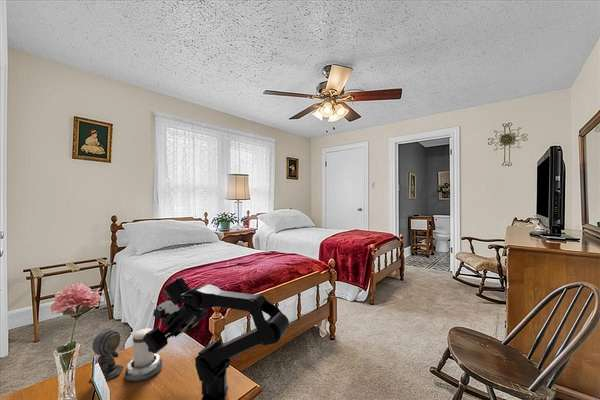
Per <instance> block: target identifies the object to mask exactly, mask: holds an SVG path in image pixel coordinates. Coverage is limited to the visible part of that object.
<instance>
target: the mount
mask: <svg viewBox="0 0 600 400" xmlns="http://www.w3.org/2000/svg"><path fill="white" fill-rule="evenodd" d="M162 369H163V360H162V359H161V358H160V354H158V353H156V354H154V363H152V364H151V365H149V366H146V367H143V368H134V357H133V358H132V359H131V360H130V361H129V362H127V368H126V369H125V372H124V378H125V380H126V381H128V382H129V383H140V382H144V381H147V380H150V379H152V378H154V377H155V376H157V375H158V374H159V372H161V370H162Z"/></svg>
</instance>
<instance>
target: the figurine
mask: <svg viewBox="0 0 600 400" xmlns="http://www.w3.org/2000/svg"><path fill="white" fill-rule="evenodd" d="M120 343H121V334H120V332H119V331H117V330H115V329H105V330H104V331H101V332H100V333H99V334H97V335H96V336H95V338H94V339H93V341H92V346H91V347H92V351H93V353H95V354H96V355H98V358H97V359H98V363H99V365H100V367H101V370H102V372H103V374H104V376H105V379H106V381H107V382H109V381H111V380H114V379H116V378H118V377H120V375H121V373H122V371H123V370H124V366H123V365H121V364H117V363H116V361H115V358H119V353H118V352H117V351H116V350H117V348H118V347H119V345H120ZM88 382H89V383H92V382H91V377H90V379H89V381H88Z"/></svg>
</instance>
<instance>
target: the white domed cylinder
mask: <svg viewBox="0 0 600 400" xmlns="http://www.w3.org/2000/svg"><path fill="white" fill-rule="evenodd" d="M153 329H154V328H153ZM153 329H152V328H150V327H148V328H147V327H146V328H142V329H139V330H137V331H135V332H134V333H133V334H132V343H133V347H132V348H133V358H134V368H143V367H146V366H149V365H151V364H152V363H154V353H152V352H149V351H148V346H147V344H146V343H145V342H144V340H143V337H144V336H145V334H146V333H148V332H149V331H151V330H153Z"/></svg>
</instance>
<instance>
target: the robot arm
mask: <svg viewBox="0 0 600 400" xmlns="http://www.w3.org/2000/svg"><path fill="white" fill-rule="evenodd" d="M163 292H164V293H165V294H166V295H167V297H168V298H169V300H166V301H164V302H162V303H160V304H159V305H157V306H156V307H155V308H154V310H153V314H152V316H153V317H154V318H155V319H157V320H161V319H162V320H163V325H164V326H166V330H164V332H163V331H162V330H161V328H159V327H155V328H153V330H151V331H149V332H148V333H146V334H145V336H144V337H143V340H144V342H145V343H146V344H147V346H148V351H149V352H152V353H154V354H158V352H160V351H162V350H163V349H164V348H165V347H166V346H167V345H168V341H169V340H168V339H170V338H173V337H175V338H176V337H178V336H180V335H181V334H183V333H185V332H187V331H190V330H191V329H192V328H194V327H195V326H196V325H198V324H199V323H200V321H201V320H202V319H203V318H205V317H206V316H208V311H207V309H211V308H222V309H229V310H237V311H244V312H248V313H249V314H250V316H251V317H252V320H253V324H254V327H255V328H253V329H252V330H249V331H248V332H245V333H243V334H240V335H239V336H237V337H234V338H232V339H230V340H228V341H225V342H222V341H221V337H220V338H218V339H217V340H215V341H214V340H213V341H211V342H210V343H209V344H207V345H206V346H205V347H204V348H202V349H201V350H200V351H198V353H197V354H198V355H197V356H196V357H195V358H194V359H195V360H194V361H195V364H194V365H195V369H196V373H197V376H198V379H199V382H201V395H202V397H201V398H202V399H201V400H225V399H226V398H225V397H226V394H227V390H228V386H229V383H228V382H227V381H228V380H227V378H228V377H227V369H228V368H229V367H230V366H231V362H232V361H231V358H232V357H234V356H235V355H238V354H240V353H243V352H245V351H247V350H249V349H251V348H254V347H257V346H258V345H262V346H269V345H274V344H278V343H279V341H280V340H281V338H282V337H283V336H285V334H286V332H287V331H288V330H289V328H290V321H289V319H288V317H287V316H286V315H285V314H284V313H283V312H282V310H280V308H279V307H278V306H276V305H275V304H273V303H271V302H270V301H268V300H267V299H266V297H265V296H264V295H262V294H260V293H259V294H251V293H244V292H235V291H226V290H223V289H220V287H219V286H216V285H213V284H210V283H207V284H206V283H205V284H204V285H201V286H196V287H194V288H192V289H191V287H189V285H188V284H187V283H186V281H185V280H184V278H183V277H182V276H180V277H178V278H176V279H175V280H174V281H172V282H171V283H169V284H168V285H166V286H165V287H164V289H163ZM179 305H180V306H181V305H182V306H181V307H179ZM264 313H265V314H266V315H268V316H269V318H267V319H266V318H265V316H264Z"/></svg>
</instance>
